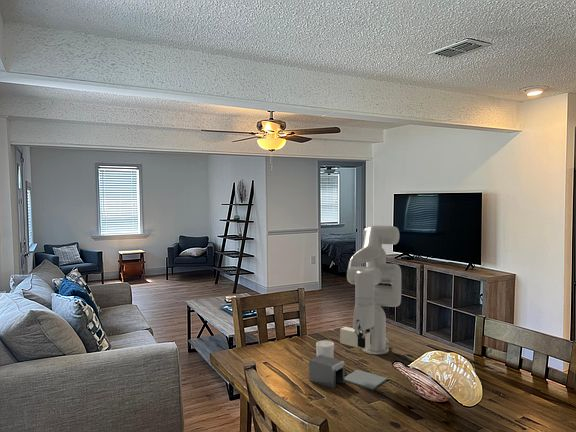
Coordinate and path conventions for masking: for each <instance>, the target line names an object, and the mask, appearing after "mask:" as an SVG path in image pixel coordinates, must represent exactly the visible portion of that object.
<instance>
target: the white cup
mask: <svg viewBox="0 0 576 432" xmlns="http://www.w3.org/2000/svg"><path fill="white" fill-rule="evenodd" d="M334 348H335V343H334V342H333V341H330V340H318V341H317V342H315V350H316V357H317V356H319V355H323V356H326V357H330V358H333V359H334V352H335V351H334V350H335V349H334Z"/></svg>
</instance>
